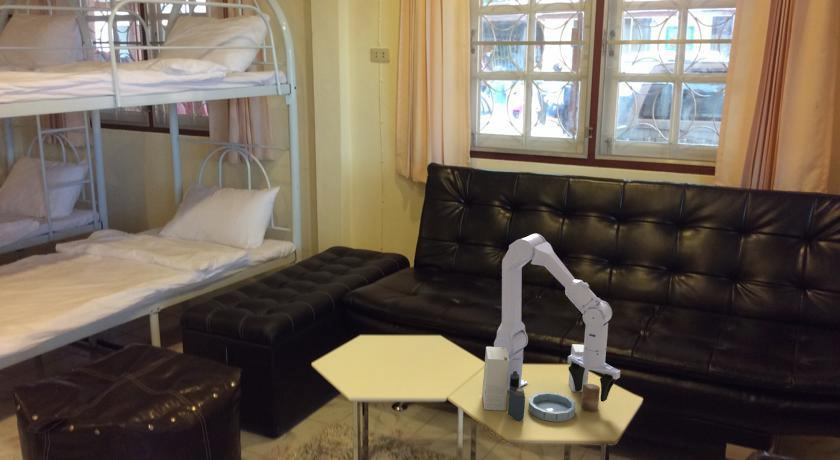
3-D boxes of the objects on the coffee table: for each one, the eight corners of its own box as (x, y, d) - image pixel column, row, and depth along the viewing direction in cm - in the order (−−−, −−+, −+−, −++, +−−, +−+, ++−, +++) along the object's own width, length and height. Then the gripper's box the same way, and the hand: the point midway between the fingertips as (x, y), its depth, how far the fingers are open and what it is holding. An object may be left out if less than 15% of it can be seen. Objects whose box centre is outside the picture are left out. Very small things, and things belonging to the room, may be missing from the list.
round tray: (519, 410, 188) (520, 401, 187) (545, 396, 196) (546, 388, 196) (558, 426, 180) (559, 418, 179) (583, 411, 188) (584, 403, 188)
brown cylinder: (577, 407, 190) (579, 387, 189) (586, 402, 193) (588, 382, 192) (592, 413, 187) (594, 392, 186) (601, 408, 190) (603, 387, 189)
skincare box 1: (481, 396, 195) (484, 345, 192) (503, 397, 195) (506, 346, 192) (484, 410, 187) (486, 358, 184) (507, 411, 187) (510, 358, 184)
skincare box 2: (587, 392, 200) (590, 352, 197) (571, 392, 200) (575, 352, 197) (582, 383, 205) (586, 344, 203) (568, 382, 206) (571, 343, 203)
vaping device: (513, 411, 187) (516, 369, 184) (525, 420, 183) (528, 377, 180) (505, 413, 186) (508, 370, 183) (517, 422, 181) (519, 378, 179)
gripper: (627, 351, 184) (623, 399, 187) (579, 336, 194) (575, 382, 197) (614, 358, 179) (609, 408, 182) (564, 342, 189) (561, 390, 192)
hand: (590, 395), depth 190 cm, fingers open, 7 cm apart
